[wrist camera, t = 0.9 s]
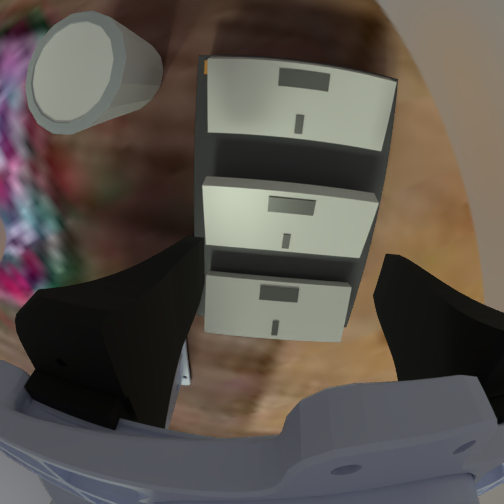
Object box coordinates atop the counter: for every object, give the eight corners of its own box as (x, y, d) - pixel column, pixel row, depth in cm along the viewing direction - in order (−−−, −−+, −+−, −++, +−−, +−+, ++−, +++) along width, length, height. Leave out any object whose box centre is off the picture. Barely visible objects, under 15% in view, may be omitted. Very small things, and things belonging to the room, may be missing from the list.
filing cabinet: (341, 303, 24) (349, 331, 21) (204, 292, 25) (195, 319, 21) (382, 82, 16) (403, 79, 13) (209, 62, 16) (196, 54, 13)
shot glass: (192, 67, 17) (153, 51, 10) (128, 141, 19) (72, 161, 13) (128, 16, 15) (74, -8, 8) (72, 88, 17) (9, 93, 11)
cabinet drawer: (376, 144, 15) (381, 152, 14) (211, 126, 15) (207, 132, 15) (390, 78, 12) (397, 82, 12) (211, 56, 13) (207, 58, 12)
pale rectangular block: (337, 335, 20) (340, 342, 19) (207, 325, 21) (204, 332, 19) (347, 282, 19) (351, 287, 18) (208, 270, 20) (205, 275, 19)
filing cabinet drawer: (356, 247, 18) (359, 259, 17) (208, 233, 18) (205, 245, 18) (374, 193, 15) (379, 203, 15) (206, 176, 16) (201, 186, 15)
